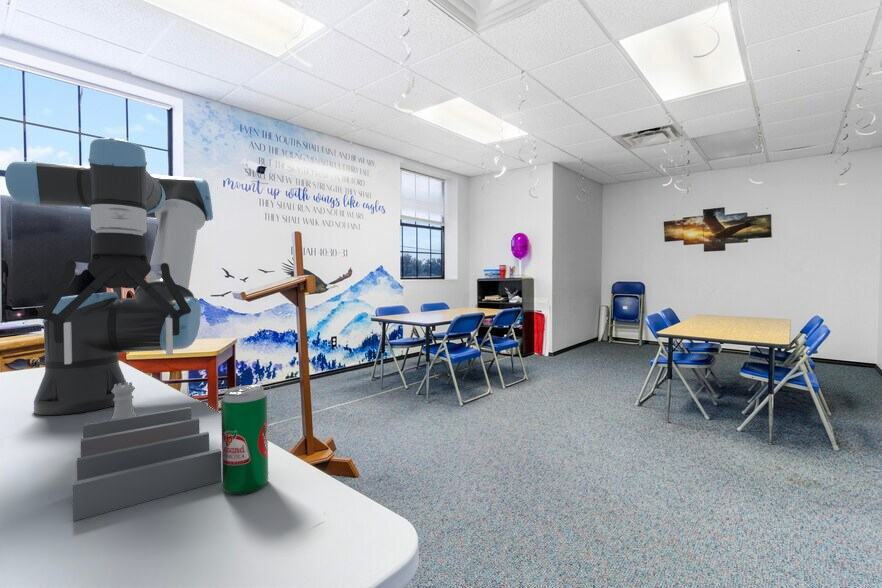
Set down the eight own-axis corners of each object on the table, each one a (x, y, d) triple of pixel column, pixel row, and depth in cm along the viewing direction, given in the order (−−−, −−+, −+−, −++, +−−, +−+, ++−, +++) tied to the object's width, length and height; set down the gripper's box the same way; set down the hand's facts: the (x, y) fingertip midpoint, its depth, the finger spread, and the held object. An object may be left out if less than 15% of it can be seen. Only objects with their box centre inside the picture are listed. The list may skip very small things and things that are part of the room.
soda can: (212, 492, 49) (211, 392, 49) (247, 474, 54) (245, 382, 54) (244, 500, 47) (242, 396, 47) (277, 481, 52) (276, 386, 52)
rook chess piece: (119, 426, 73) (118, 381, 73) (146, 425, 73) (145, 380, 73) (100, 435, 68) (99, 387, 68) (129, 434, 69) (128, 386, 69)
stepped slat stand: (84, 448, 63) (83, 424, 63) (190, 428, 71) (190, 406, 71) (73, 521, 43) (72, 485, 43) (221, 480, 52) (221, 451, 52)
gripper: (10, 224, 59) (13, 371, 60) (207, 236, 75) (208, 353, 75) (19, 230, 65) (21, 364, 65) (199, 240, 81) (201, 348, 81)
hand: (121, 358), depth 70 cm, fingers open, 13 cm apart
